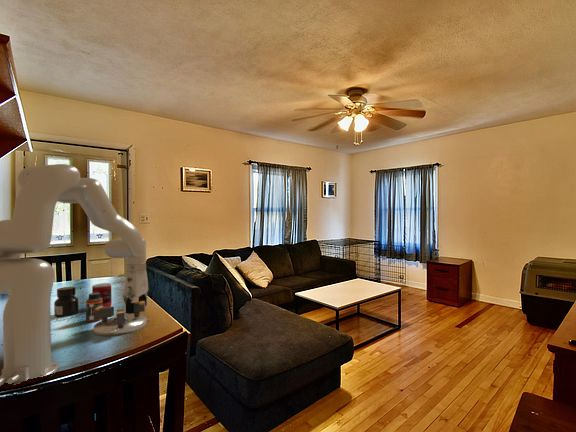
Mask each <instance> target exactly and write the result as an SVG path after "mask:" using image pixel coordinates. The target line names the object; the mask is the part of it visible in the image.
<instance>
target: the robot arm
mask: <svg viewBox="0 0 576 432" xmlns="http://www.w3.org/2000/svg"><path fill="white" fill-rule="evenodd" d="M17 183H18V185H19V187H21V189H19V192H18V194H17V196H16V198H15V201H14V202H15V203H14V208H13V214H12V217H11V219H2V220H0V295H9V297H8V300H7V301H6V304H5V306H4V309H3V313H2V314H3V315H2V325H3V326H2V329H3V330H2V331H3V334H2V335H3V339H2V340H3V346H2V347H3V348H2V349H3V368H2V369H1V375H0V386H1V385H3V384H4V383H8V384H12V383H14V384H13V385H16V384H20V383H21V382H23V381H27V380H28V379H33V378H37V377H43V376H47V375H50V374H53V373H54V374H55V373H56V372H58V371H59V370H58V369H59V364H58V362H56V361H52V337H51V336H52V334H51V333H52V328H51V327H52V326H51V324H52V323H51V299H52V291H53V286H54V282H55V270H54V268H53V266H52V264H50V262H47V261H45V260H43V259H39V258H21V254H38V253H41V252H44V251H46V250H47V249H48V248H49V247H50V244H51V243H52V242H51V241H52V236H53V227H54V216H55V209H56V205H57V203H58V202H59V203H63V204H79V205H80V207H81V208H82V209H83V211H84V212H85V214H86V217H87V218H88V219H89V221H90V222H91V224H92V225H93V226H95V227H97V228H99V229H102V230H105V231H107V232H110V233H113V234H115V235H116V236H118V237H120V238H113V239H111V240H109V241H107V242H106V243H105V245H104V248H103V251H104V253H105V255H106V256H107V257H110V258H112V259H125V273H126V274H125V283H124V292H123V294H122V297H123V300H124V304H125V314H134V302H135V299H136V298H138V302H140V301H145V307H147V305H148V301H147V299H148V298H147V296H148V292H149V279H148V272H147V244H146V238H143V237H142V234H141V233H140V231H139V230H138V228H137V227H136V226H135V225H134V224H133V223H131V222H130V221H129V220H128V219H126V218H124V216H121V214H119V213H117V210H116V209H115V207H114V205H113V203H112V202H111V200H110V198H109V196H108V194H107V193H106V191H105V189H104V186H103V185H102V184H101V182H100V181H99V180H98V179H95V178H92V177H81V173H80V171H79V169H78V168H77V167H76V166H73V165H71V164H67V163H66V164H65V163H57V164H46V165H44V164H43V165H34V166H27V167H25V168H23V169H21V171H20V172H19V173H18V175H17ZM54 374H53V375H54Z"/></svg>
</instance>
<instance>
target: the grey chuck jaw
mask: <svg viewBox="0 0 576 432" xmlns="http://www.w3.org/2000/svg"><path fill="white" fill-rule="evenodd" d="M124 315H125V309H124V308H122V309H117V310H116V317H117V324H118V327H123V326H124Z"/></svg>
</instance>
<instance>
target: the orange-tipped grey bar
mask: <svg viewBox="0 0 576 432" xmlns="http://www.w3.org/2000/svg"><path fill="white" fill-rule="evenodd" d="M113 317H115V307H114V306H110V307H103V306H99V307H97V308H95V318H102V319H101V321H102V323H104V322H107V321H108V319H109V318H113Z"/></svg>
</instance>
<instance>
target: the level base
mask: <svg viewBox="0 0 576 432" xmlns="http://www.w3.org/2000/svg"><path fill="white" fill-rule="evenodd" d="M145 326H147V316H145V315H143V314H140V316H139V317H134V314H124V326H123V327H118V324H117V316H112V317H108V321H107V322H104V323H102V320H100V321H98V322H97V323H95V324H94V325H93V334H94V335H96V336H99V337H115V336H120V335H126V334H129V333H130V334H131V333H133V332H136V331H138V330H139V331H140V329H143V328H144V327H145Z"/></svg>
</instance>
